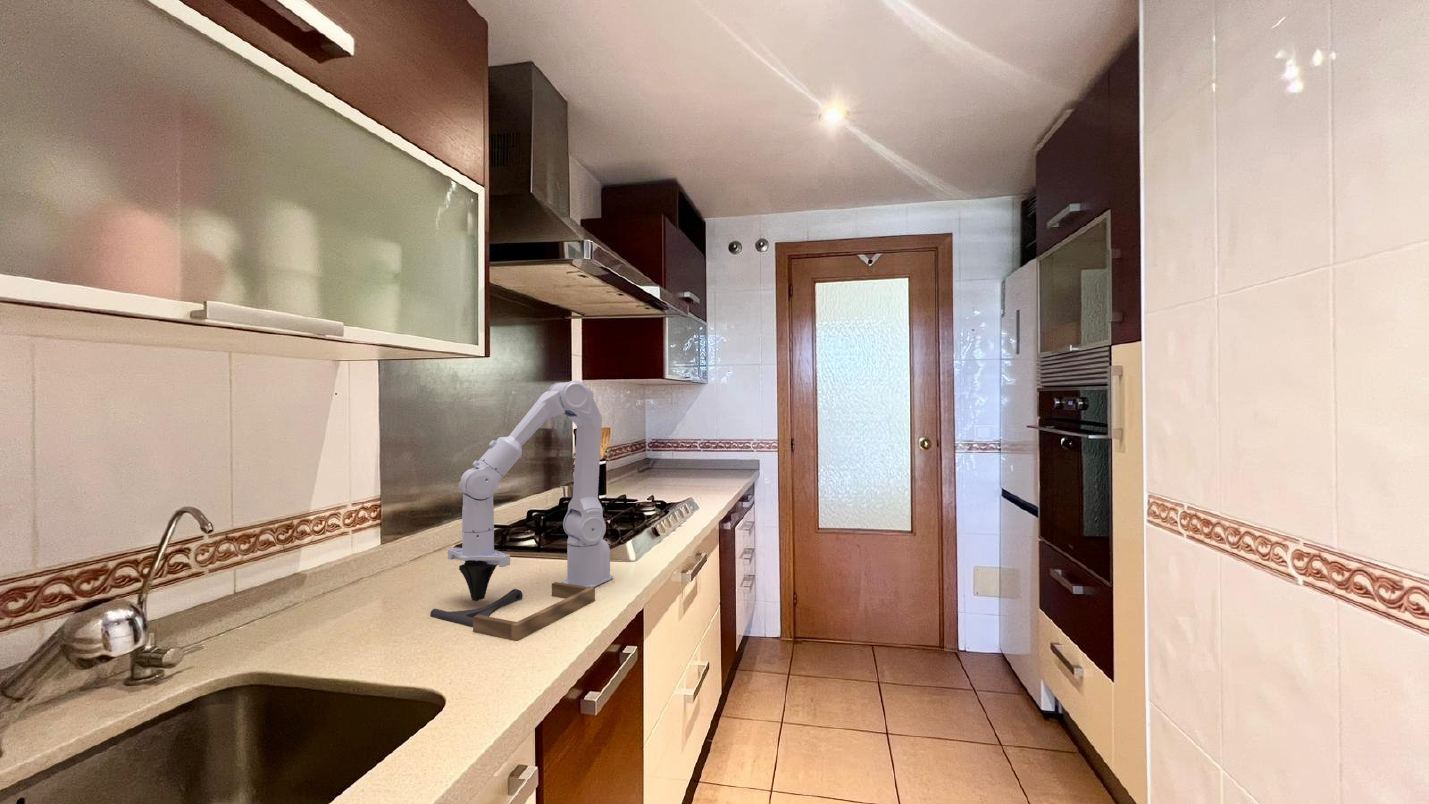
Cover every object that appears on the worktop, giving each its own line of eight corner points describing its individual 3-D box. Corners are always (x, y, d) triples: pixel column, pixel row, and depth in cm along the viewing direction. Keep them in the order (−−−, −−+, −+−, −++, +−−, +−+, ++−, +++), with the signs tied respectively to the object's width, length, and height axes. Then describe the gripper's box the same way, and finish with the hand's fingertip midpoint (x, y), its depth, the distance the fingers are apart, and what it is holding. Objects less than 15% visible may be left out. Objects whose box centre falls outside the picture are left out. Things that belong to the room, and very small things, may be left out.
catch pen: (555, 594, 118) (555, 581, 118) (595, 600, 114) (595, 587, 114) (473, 631, 98) (473, 616, 98) (517, 640, 94) (517, 625, 94)
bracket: (547, 606, 112) (546, 592, 112) (484, 633, 99) (484, 617, 99) (495, 596, 119) (495, 582, 119) (430, 619, 105) (430, 604, 105)
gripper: (434, 530, 112) (434, 600, 111) (490, 537, 106) (490, 611, 105) (463, 523, 118) (463, 590, 118) (518, 529, 112) (518, 599, 112)
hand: (478, 599), depth 112 cm, fingers closed
